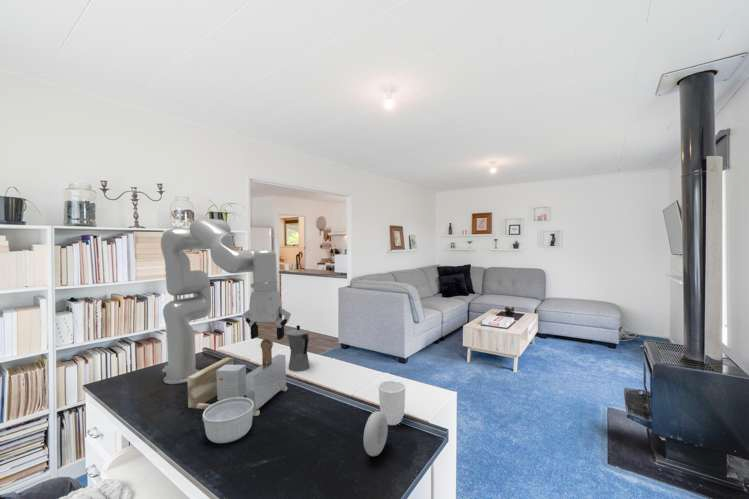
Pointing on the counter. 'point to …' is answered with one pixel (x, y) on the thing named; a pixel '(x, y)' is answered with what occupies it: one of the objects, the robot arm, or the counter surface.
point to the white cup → (392, 401)
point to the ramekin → (228, 419)
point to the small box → (231, 381)
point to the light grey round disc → (375, 433)
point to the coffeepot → (298, 349)
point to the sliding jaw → (266, 376)
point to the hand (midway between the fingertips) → (267, 338)
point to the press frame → (207, 386)
